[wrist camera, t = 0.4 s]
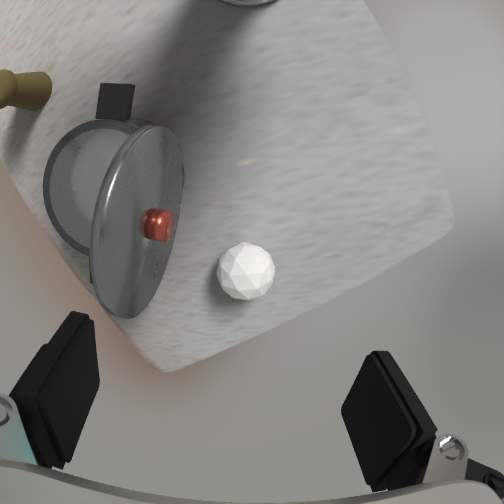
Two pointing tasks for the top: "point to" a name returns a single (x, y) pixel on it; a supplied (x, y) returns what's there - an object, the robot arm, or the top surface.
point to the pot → (87, 164)
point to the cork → (24, 89)
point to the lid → (136, 220)
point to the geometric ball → (245, 271)
